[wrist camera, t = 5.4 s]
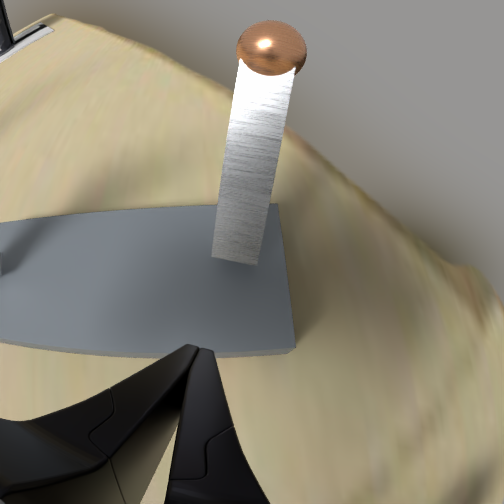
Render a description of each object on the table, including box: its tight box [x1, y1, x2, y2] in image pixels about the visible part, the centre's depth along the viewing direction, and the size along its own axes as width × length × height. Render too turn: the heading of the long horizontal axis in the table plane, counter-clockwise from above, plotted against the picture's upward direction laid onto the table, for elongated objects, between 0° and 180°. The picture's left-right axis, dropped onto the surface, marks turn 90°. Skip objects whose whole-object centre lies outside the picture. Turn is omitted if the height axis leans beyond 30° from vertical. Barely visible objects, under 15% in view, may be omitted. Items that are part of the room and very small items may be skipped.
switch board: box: [0, 204, 296, 358], centre depth 17 cm, size 9×23×2 cm, turn 94°
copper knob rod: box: [211, 20, 307, 266], centre depth 13 cm, size 3×3×12 cm
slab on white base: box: [0, 0, 54, 63], centre depth 33 cm, size 32×25×28 cm
